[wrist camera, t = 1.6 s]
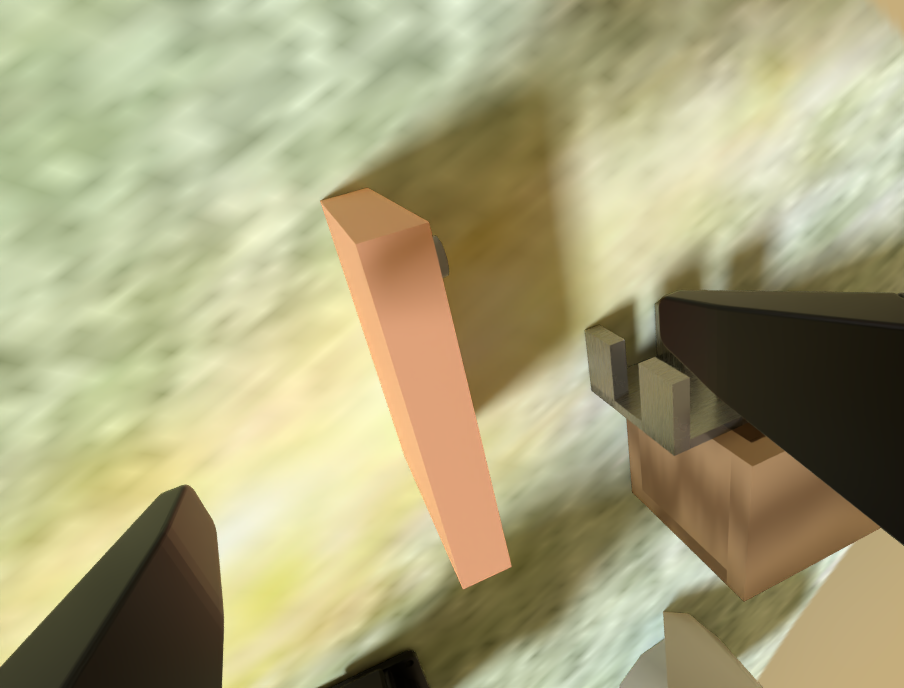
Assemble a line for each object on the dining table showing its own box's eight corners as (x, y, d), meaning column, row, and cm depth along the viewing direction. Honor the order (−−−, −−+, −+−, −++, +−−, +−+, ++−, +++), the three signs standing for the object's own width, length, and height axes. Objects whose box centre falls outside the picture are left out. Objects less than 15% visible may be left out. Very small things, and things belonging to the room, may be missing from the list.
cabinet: (817, 406, 33) (965, 481, 26) (632, 492, 30) (744, 601, 23) (831, 293, 29) (1008, 344, 23) (623, 377, 27) (752, 466, 20)
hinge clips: (670, 358, 27) (767, 413, 22) (591, 390, 26) (674, 456, 21) (668, 298, 26) (772, 342, 20) (584, 330, 25) (672, 384, 19)
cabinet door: (451, 436, 25) (527, 559, 18) (404, 455, 24) (463, 589, 17) (382, 182, 19) (452, 214, 12) (320, 200, 19) (355, 243, 12)
